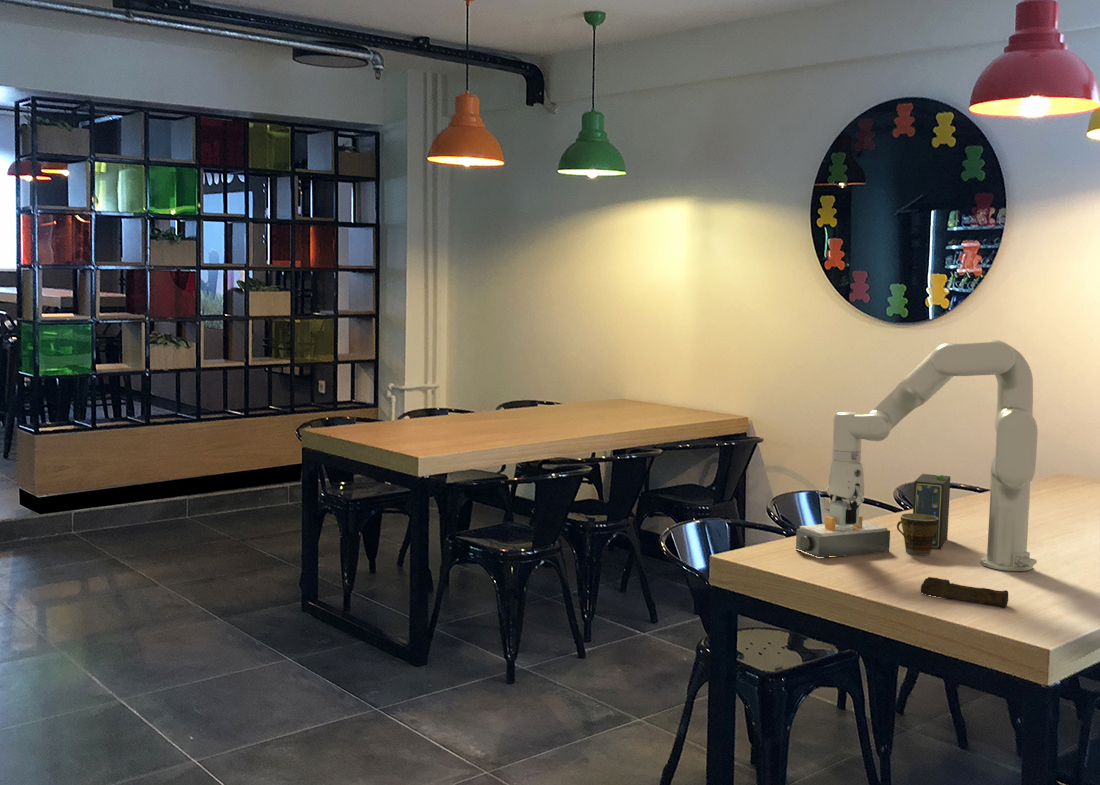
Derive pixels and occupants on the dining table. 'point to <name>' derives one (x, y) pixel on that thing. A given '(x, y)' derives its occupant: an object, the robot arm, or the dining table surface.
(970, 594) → the dark brown flashlight
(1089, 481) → the dining table surface
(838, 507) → the pale grey cube
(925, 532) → the ceramic cup
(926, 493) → the dark grey box
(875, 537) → the grey toaster
